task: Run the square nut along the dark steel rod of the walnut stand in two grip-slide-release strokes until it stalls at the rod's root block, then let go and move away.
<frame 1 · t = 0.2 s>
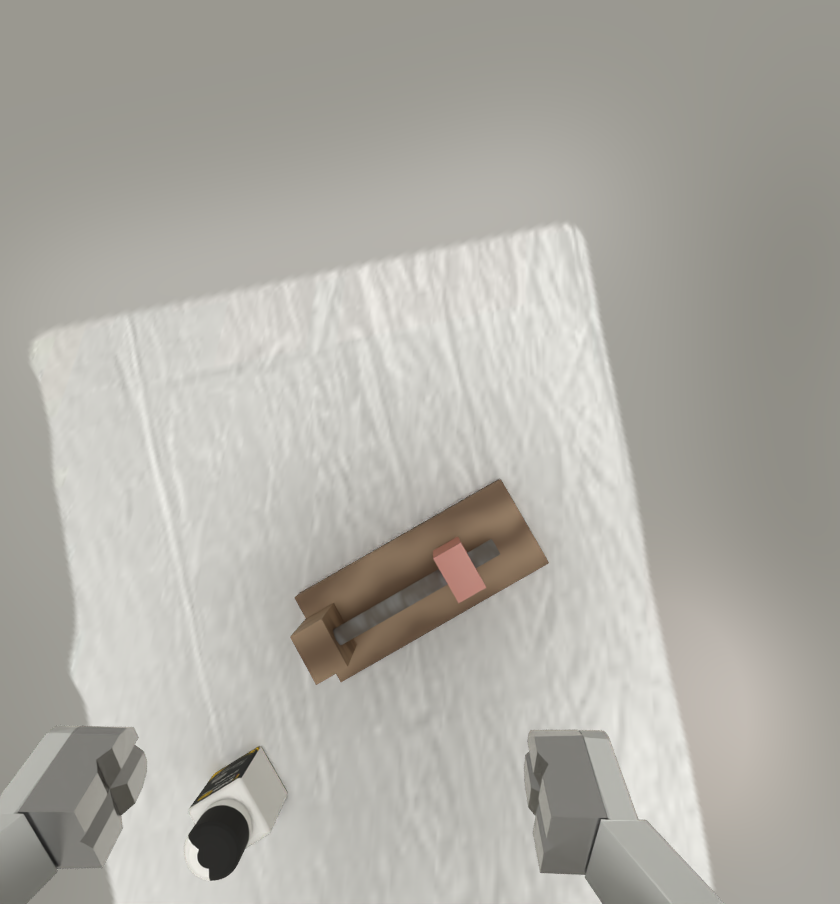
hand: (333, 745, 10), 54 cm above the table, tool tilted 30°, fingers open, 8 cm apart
square nut: (458, 568, 56), point 7 cm above the table, slide at 0.0 cm
rod stand: (421, 576, 63), on the table
medicine bottle: (251, 782, 63), on the table
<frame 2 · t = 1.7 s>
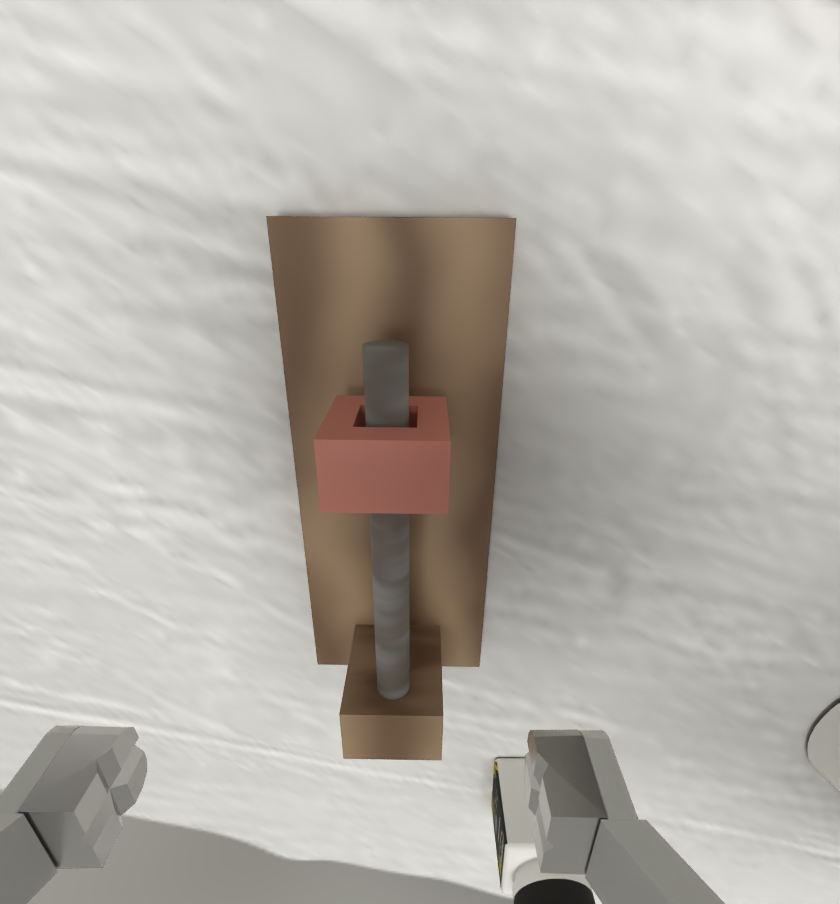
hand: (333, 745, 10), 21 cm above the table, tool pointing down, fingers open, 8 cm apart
square nut: (387, 450, 23), point 7 cm above the table, slide at 0.0 cm
rod stand: (397, 474, 32), on the table
medicine bottle: (530, 778, 45), on the table
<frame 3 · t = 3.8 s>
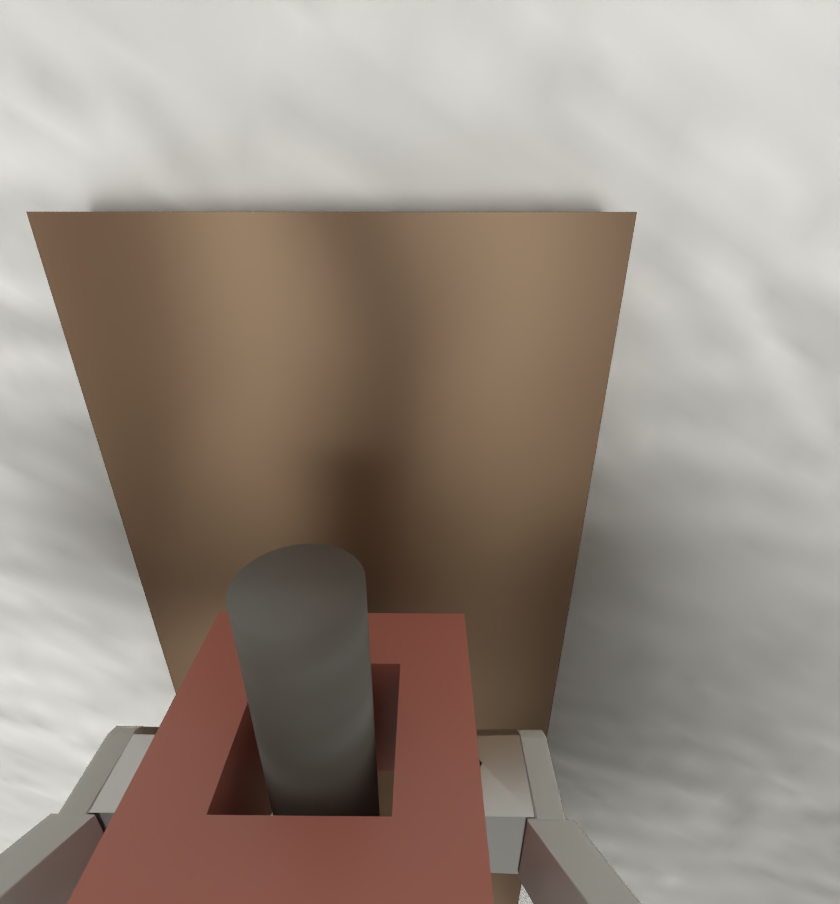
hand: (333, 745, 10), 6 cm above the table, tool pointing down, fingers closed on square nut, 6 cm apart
square nut: (325, 788, 9), point 7 cm above the table, slide at 0.0 cm, touching gripper
rod stand: (371, 670, 18), on the table
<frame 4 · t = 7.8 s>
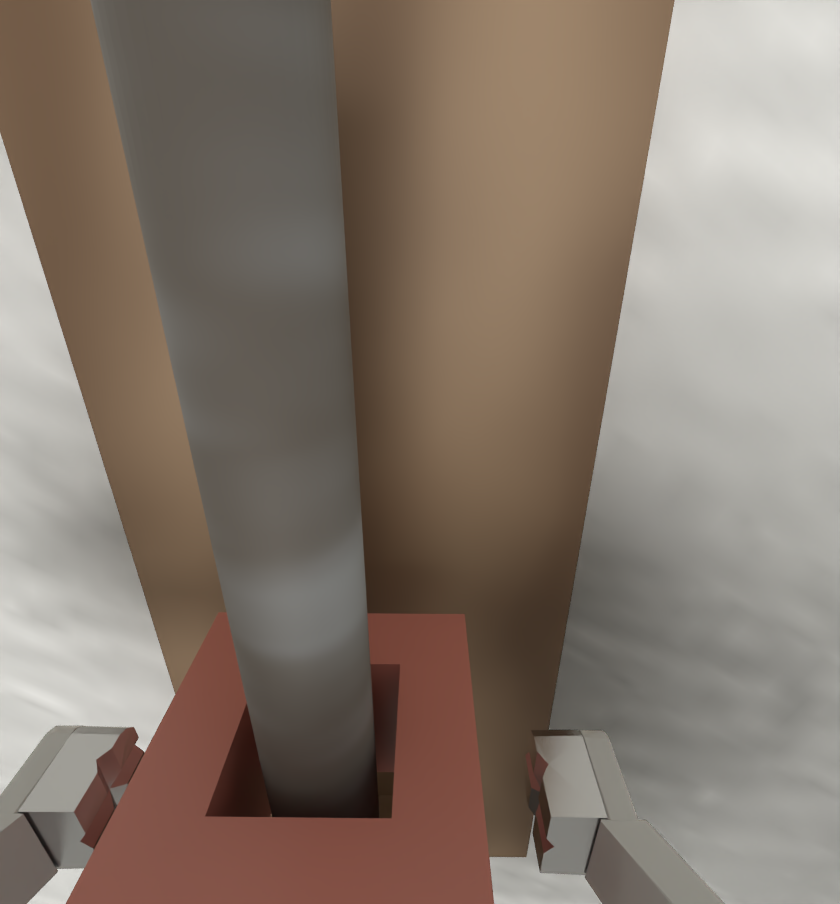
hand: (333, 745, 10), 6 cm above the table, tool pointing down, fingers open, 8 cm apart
square nut: (325, 789, 9), point 7 cm above the table, slide at 7.0 cm
rod stand: (362, 506, 15), on the table
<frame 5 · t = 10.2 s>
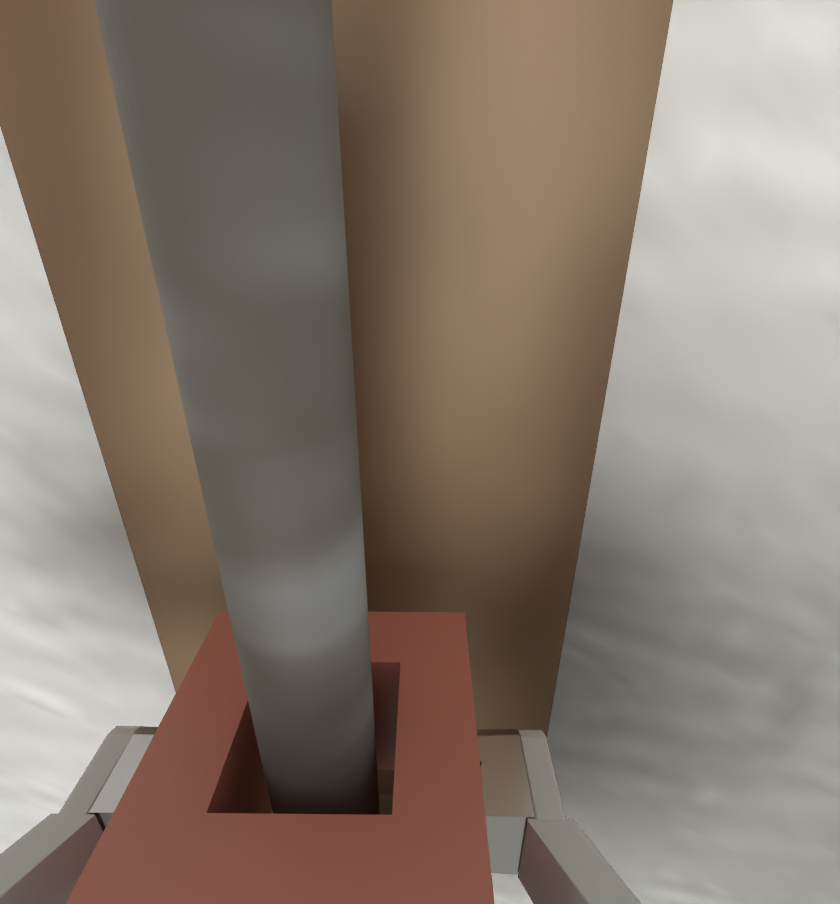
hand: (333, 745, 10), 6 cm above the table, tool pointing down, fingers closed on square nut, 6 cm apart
square nut: (325, 787, 9), point 7 cm above the table, slide at 6.9 cm, touching gripper
rod stand: (362, 506, 15), on the table
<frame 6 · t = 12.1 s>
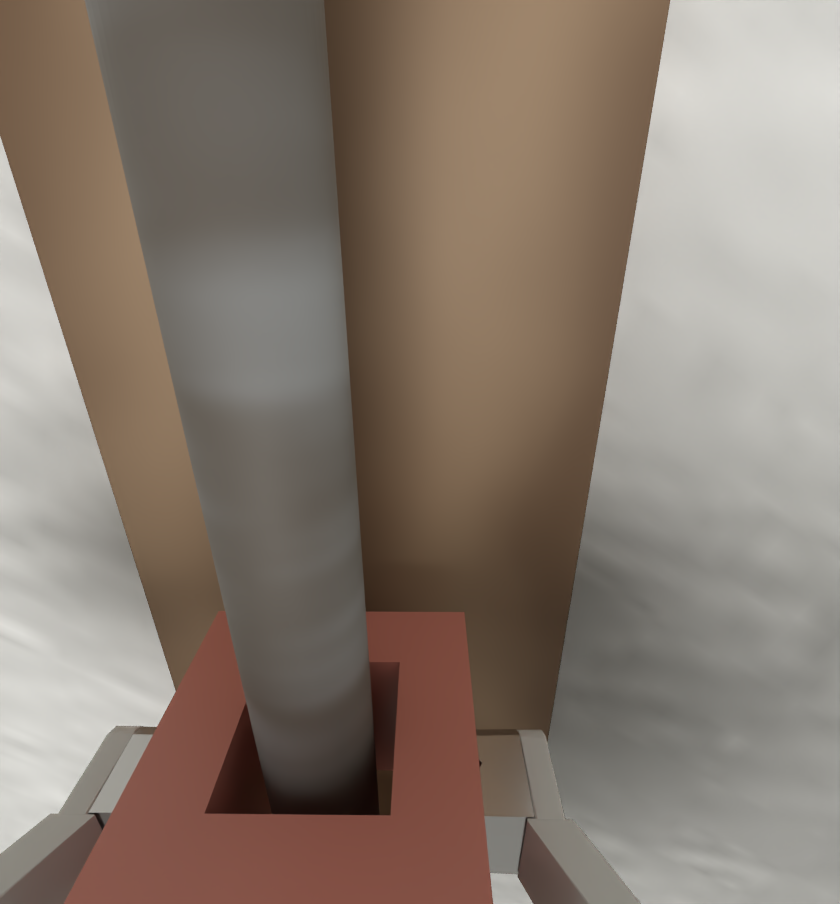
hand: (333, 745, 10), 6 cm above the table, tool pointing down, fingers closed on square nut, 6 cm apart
square nut: (324, 787, 9), point 7 cm above the table, slide at 10.5 cm, touching gripper
rod stand: (355, 394, 13), on the table
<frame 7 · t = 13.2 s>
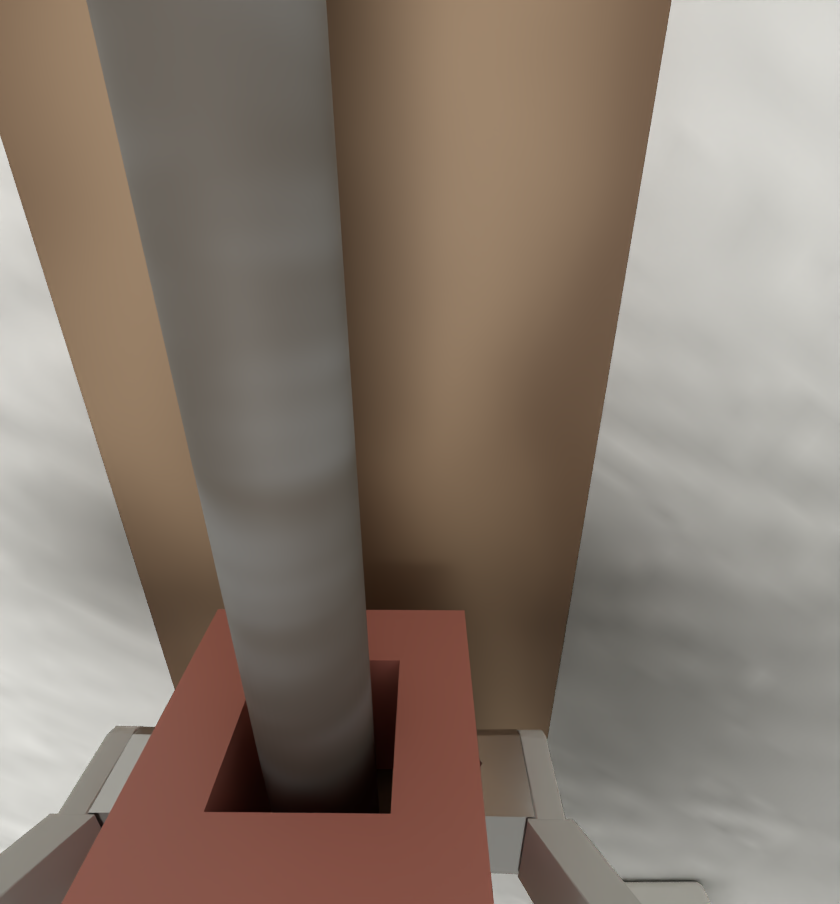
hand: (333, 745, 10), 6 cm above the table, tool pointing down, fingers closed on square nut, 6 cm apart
square nut: (324, 785, 9), point 7 cm above the table, slide at 14.1 cm, touching gripper
rod stand: (346, 250, 12), on the table
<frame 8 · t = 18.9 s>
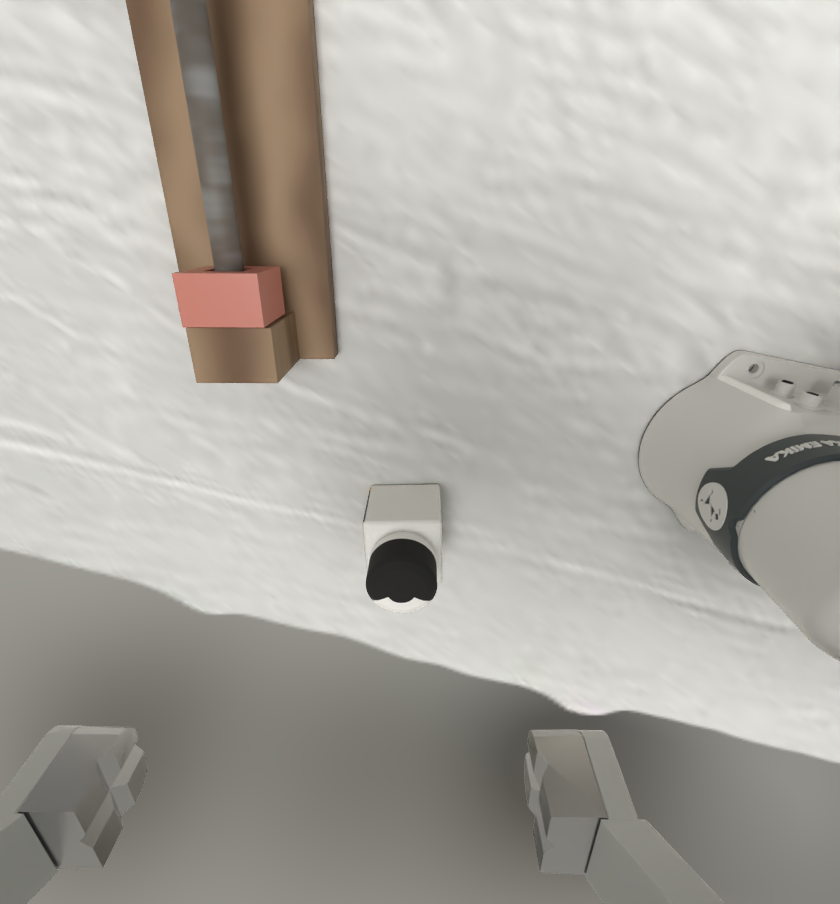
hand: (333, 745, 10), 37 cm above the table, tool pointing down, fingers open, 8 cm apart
square nut: (233, 295, 35), point 7 cm above the table, slide at 14.0 cm
rod stand: (246, 160, 38), on the table
medicine bottle: (406, 512, 52), on the table
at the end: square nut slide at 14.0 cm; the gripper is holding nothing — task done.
